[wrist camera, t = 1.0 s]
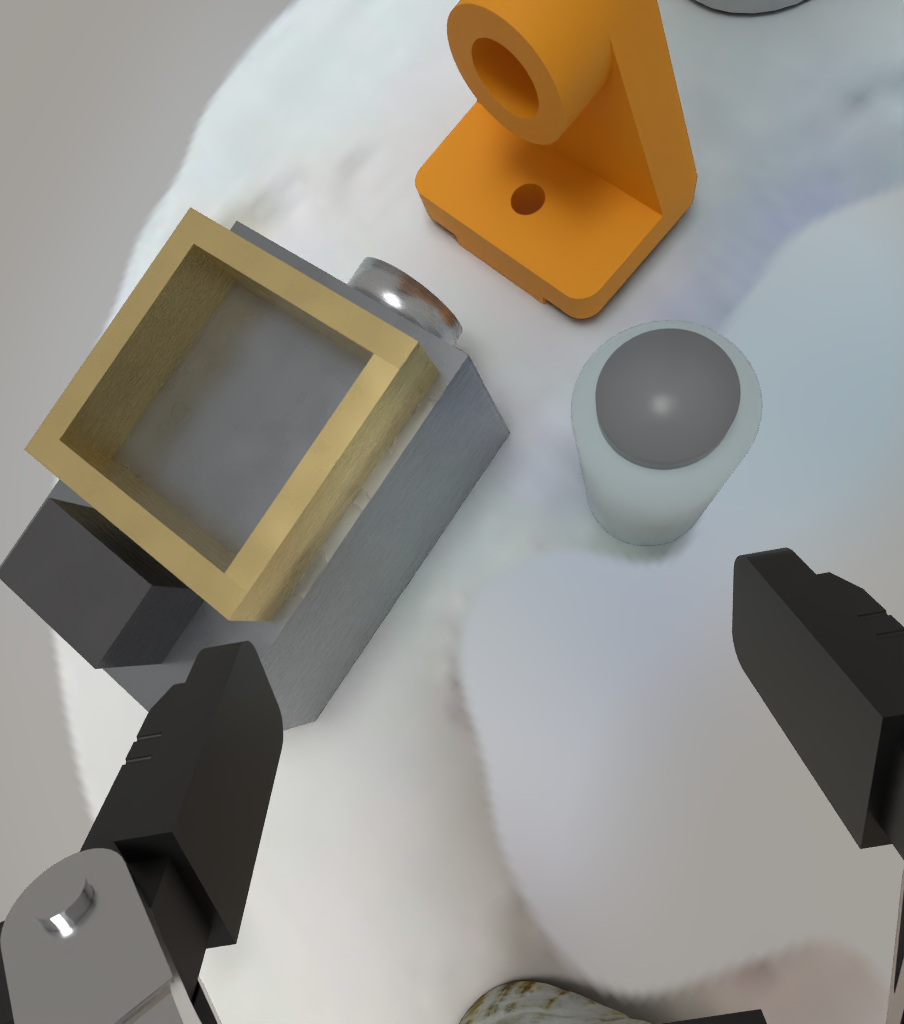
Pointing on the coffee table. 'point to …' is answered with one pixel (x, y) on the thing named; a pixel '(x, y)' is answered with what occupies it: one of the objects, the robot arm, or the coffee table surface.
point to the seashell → (540, 1007)
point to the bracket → (562, 145)
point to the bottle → (662, 427)
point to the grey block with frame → (251, 466)
